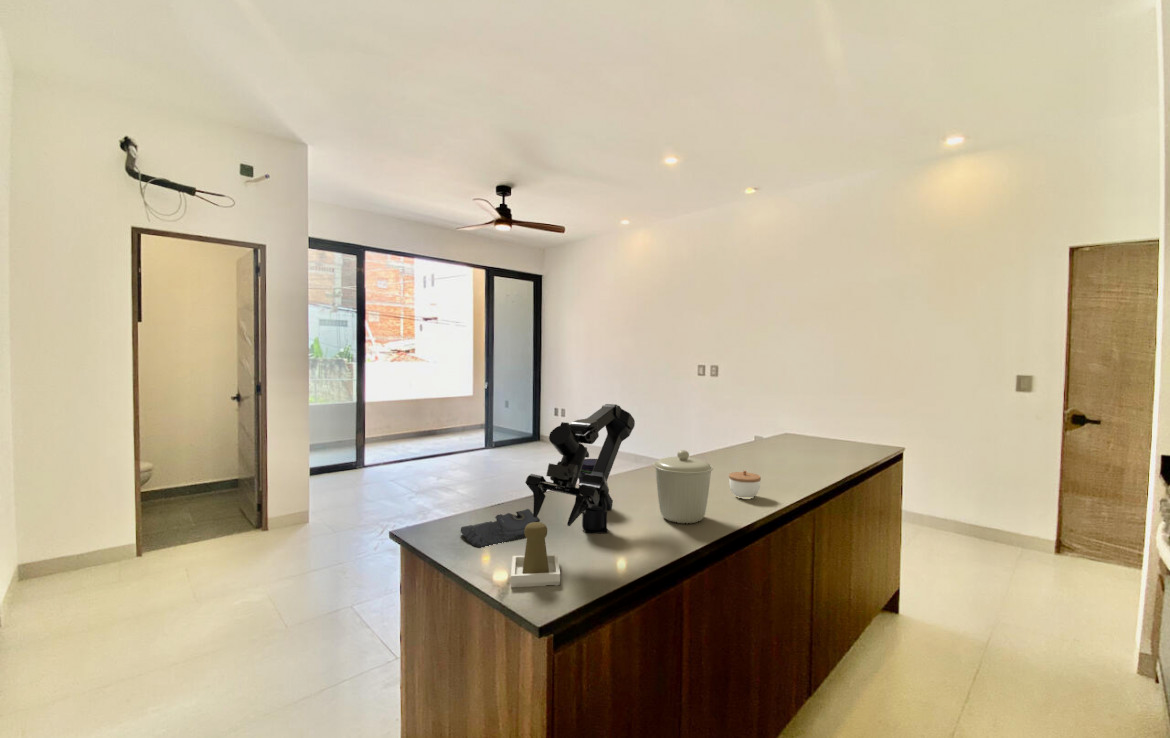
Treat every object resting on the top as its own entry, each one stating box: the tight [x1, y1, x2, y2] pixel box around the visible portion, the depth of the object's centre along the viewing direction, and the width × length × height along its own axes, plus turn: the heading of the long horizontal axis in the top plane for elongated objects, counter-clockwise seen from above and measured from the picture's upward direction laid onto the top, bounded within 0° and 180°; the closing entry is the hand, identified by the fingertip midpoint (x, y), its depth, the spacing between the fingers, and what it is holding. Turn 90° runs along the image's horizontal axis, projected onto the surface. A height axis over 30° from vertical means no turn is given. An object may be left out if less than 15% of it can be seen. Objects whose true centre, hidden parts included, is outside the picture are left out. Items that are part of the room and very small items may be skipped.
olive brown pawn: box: [522, 521, 549, 574], centre depth 112 cm, size 6×6×11 cm
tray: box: [510, 553, 561, 588], centre depth 112 cm, size 11×11×2 cm
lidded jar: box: [728, 470, 761, 498], centre depth 175 cm, size 11×11×9 cm
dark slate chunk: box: [460, 508, 541, 549], centre depth 139 cm, size 15×22×5 cm
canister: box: [652, 449, 714, 524], centre depth 152 cm, size 18×18×21 cm
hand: (551, 521), depth 121 cm, fingers open, 9 cm apart
